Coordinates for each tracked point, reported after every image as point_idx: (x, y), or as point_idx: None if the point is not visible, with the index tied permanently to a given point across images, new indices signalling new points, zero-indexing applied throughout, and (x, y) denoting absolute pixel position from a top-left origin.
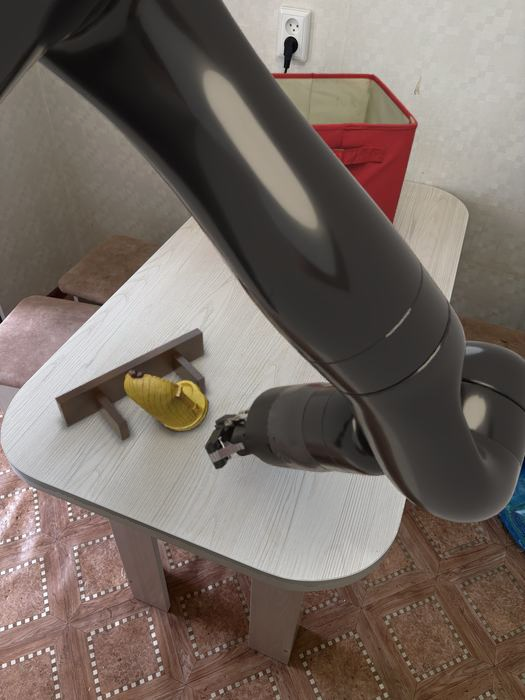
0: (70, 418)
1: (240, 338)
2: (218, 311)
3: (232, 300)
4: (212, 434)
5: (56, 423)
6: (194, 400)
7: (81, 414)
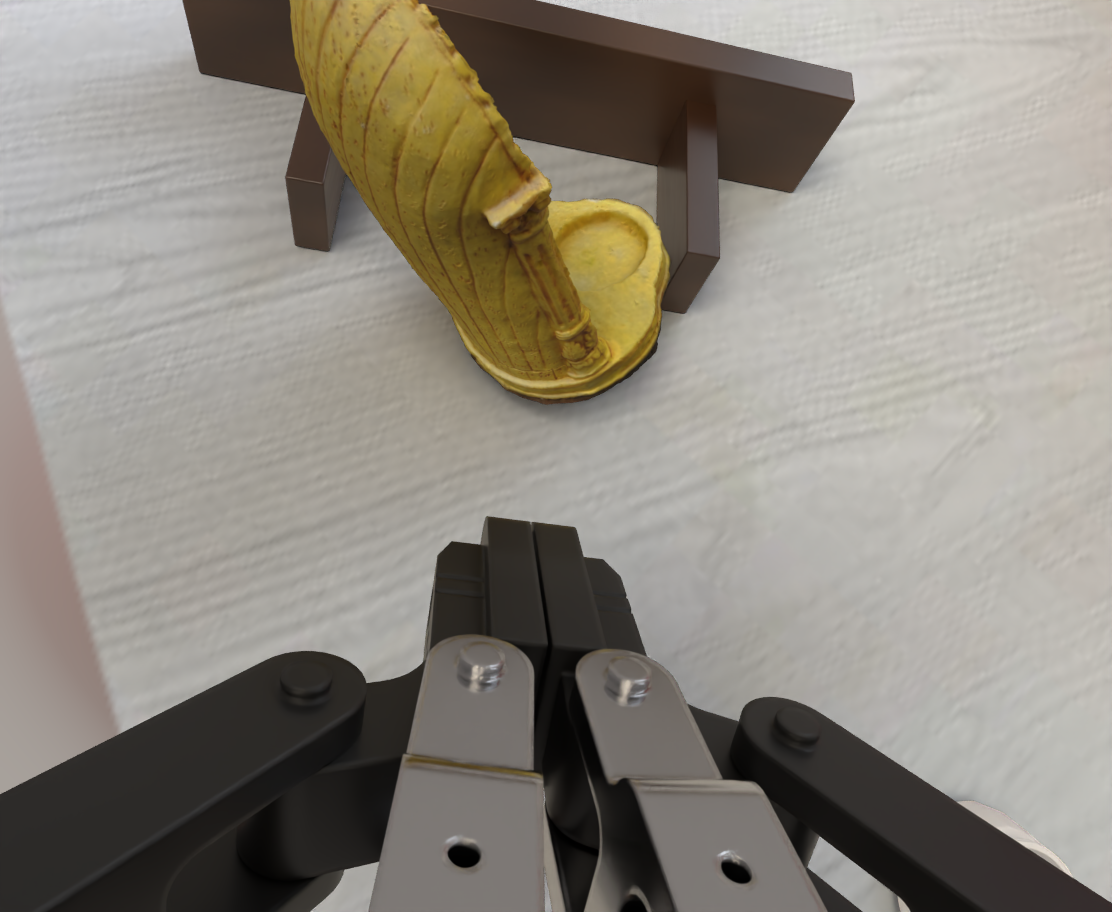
0: (212, 46)
1: (950, 236)
2: (954, 104)
3: (1025, 106)
4: (146, 737)
5: (183, 37)
6: (608, 307)
7: (260, 63)
